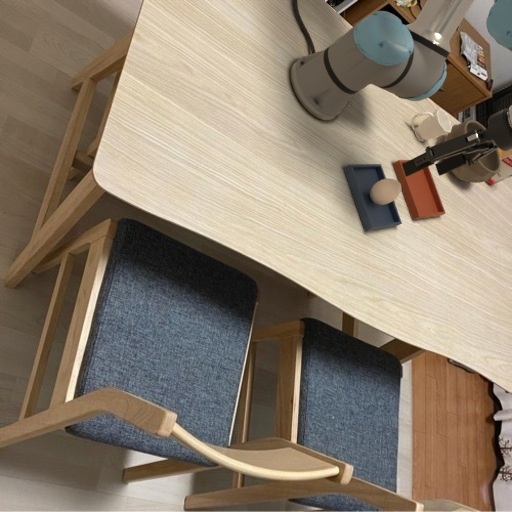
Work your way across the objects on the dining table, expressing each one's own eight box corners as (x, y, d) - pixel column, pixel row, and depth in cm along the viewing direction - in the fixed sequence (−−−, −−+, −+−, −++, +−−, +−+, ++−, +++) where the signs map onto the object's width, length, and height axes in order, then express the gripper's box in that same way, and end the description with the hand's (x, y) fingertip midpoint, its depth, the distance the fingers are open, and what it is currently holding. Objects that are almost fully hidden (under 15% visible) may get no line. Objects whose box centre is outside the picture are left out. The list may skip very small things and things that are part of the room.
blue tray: (343, 168, 130) (350, 164, 128) (374, 167, 138) (381, 164, 136) (364, 231, 127) (372, 227, 126) (394, 226, 136) (402, 223, 134)
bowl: (432, 124, 165) (463, 107, 158) (467, 149, 175) (497, 134, 168) (437, 175, 158) (470, 159, 150) (474, 198, 167) (506, 184, 160)
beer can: (486, 186, 175) (537, 164, 164) (478, 167, 176) (528, 144, 165) (494, 184, 180) (544, 162, 168) (486, 165, 180) (536, 143, 169)
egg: (376, 188, 135) (403, 174, 129) (382, 209, 133) (410, 196, 128) (361, 185, 131) (389, 171, 125) (367, 208, 130) (395, 194, 124)
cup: (427, 150, 158) (452, 137, 152) (404, 132, 153) (430, 118, 147) (426, 131, 161) (451, 117, 156) (404, 112, 156) (429, 97, 151)
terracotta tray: (392, 163, 144) (399, 160, 142) (419, 163, 153) (426, 159, 152) (412, 220, 142) (419, 217, 140) (439, 216, 151) (445, 213, 149)
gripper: (494, 141, 99) (395, 188, 114) (548, 145, 116) (455, 184, 131) (480, 101, 100) (383, 153, 115) (535, 111, 117) (444, 154, 132)
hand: (421, 170), depth 123 cm, fingers open, 13 cm apart
